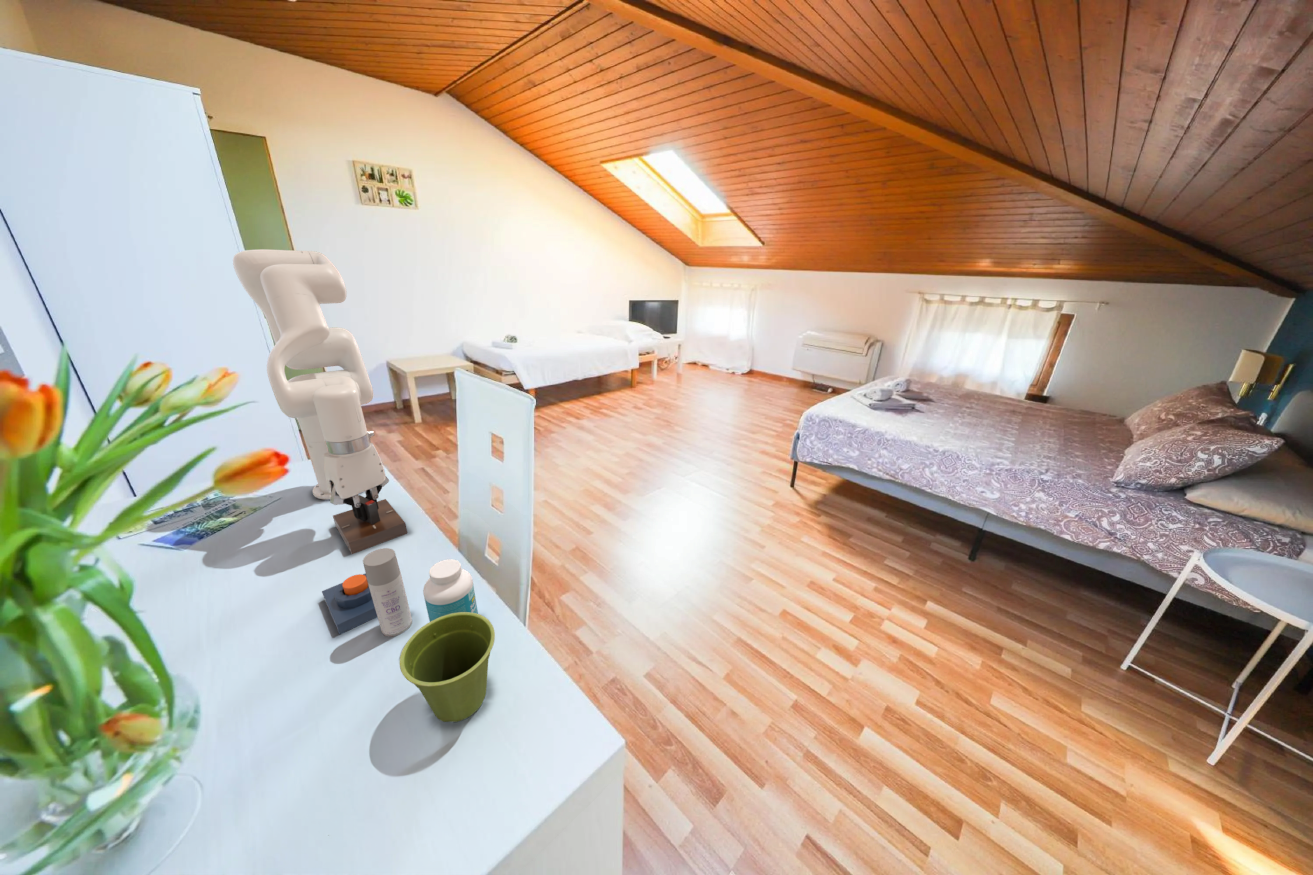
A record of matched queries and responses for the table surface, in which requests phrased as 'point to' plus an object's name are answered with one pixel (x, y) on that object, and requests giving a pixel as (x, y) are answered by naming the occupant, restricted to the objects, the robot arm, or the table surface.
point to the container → (387, 591)
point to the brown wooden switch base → (369, 528)
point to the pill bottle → (449, 590)
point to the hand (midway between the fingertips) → (367, 515)
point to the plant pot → (450, 663)
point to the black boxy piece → (370, 510)
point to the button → (355, 584)
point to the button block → (349, 607)
